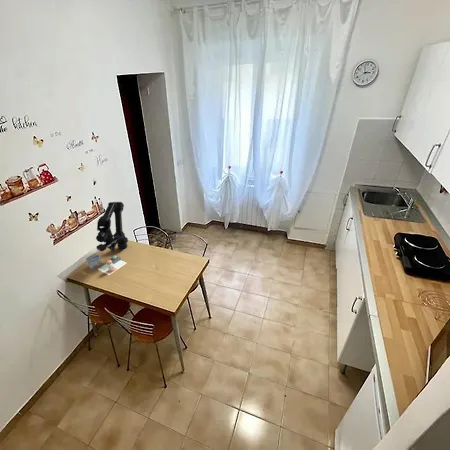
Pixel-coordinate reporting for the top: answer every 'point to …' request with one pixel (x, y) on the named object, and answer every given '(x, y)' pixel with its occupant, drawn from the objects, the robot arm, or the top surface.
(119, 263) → the board with colored squares
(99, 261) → the medicine box
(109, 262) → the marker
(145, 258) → the top surface
